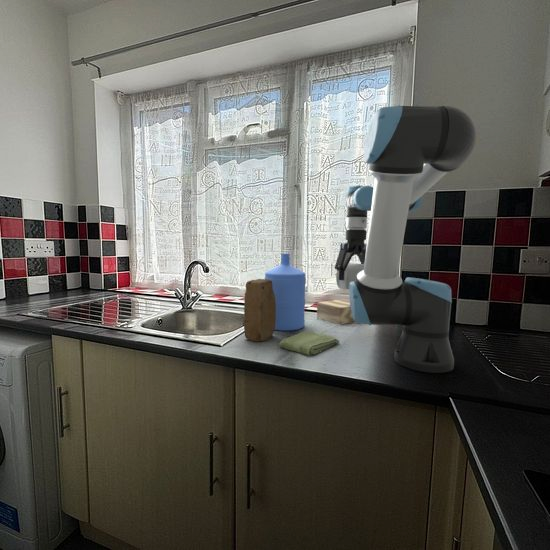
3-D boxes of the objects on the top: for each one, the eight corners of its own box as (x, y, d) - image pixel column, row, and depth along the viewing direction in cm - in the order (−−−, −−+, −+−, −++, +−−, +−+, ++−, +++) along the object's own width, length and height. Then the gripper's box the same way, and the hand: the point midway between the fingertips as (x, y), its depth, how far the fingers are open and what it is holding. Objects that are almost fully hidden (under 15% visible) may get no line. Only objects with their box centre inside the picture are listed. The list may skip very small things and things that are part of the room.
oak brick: (339, 325, 133) (340, 307, 132) (316, 318, 144) (317, 302, 143) (360, 320, 141) (361, 304, 140) (337, 314, 151) (338, 299, 150)
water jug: (311, 329, 125) (313, 254, 122) (272, 333, 119) (273, 254, 116) (294, 319, 139) (295, 252, 136) (258, 322, 134) (259, 252, 131)
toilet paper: (371, 289, 126) (372, 263, 125) (361, 292, 118) (362, 264, 117) (346, 287, 132) (347, 262, 131) (335, 290, 124) (336, 263, 123)
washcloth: (341, 344, 109) (341, 334, 109) (311, 358, 96) (311, 347, 95) (307, 336, 117) (308, 327, 117) (275, 348, 104) (276, 338, 104)
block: (259, 344, 107) (259, 282, 105) (241, 339, 111) (241, 280, 109) (278, 336, 116) (279, 279, 113) (261, 332, 120) (262, 277, 118)
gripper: (341, 227, 113) (339, 291, 115) (384, 230, 127) (381, 287, 129) (325, 228, 119) (323, 288, 121) (368, 230, 133) (366, 284, 135)
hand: (353, 287), depth 125 cm, fingers closed on toilet paper, 11 cm apart
